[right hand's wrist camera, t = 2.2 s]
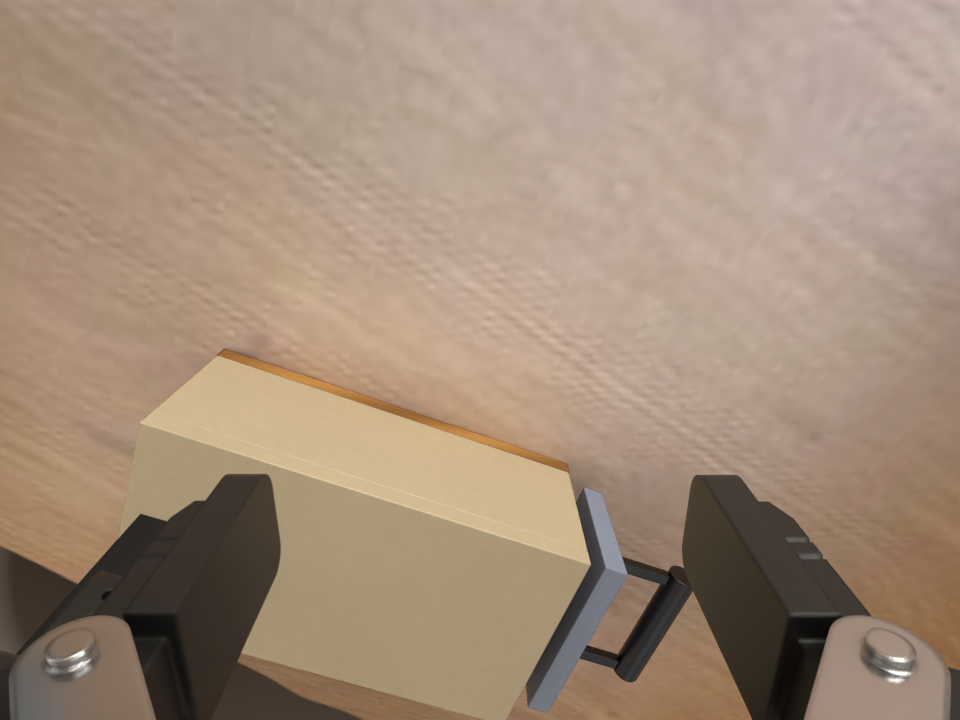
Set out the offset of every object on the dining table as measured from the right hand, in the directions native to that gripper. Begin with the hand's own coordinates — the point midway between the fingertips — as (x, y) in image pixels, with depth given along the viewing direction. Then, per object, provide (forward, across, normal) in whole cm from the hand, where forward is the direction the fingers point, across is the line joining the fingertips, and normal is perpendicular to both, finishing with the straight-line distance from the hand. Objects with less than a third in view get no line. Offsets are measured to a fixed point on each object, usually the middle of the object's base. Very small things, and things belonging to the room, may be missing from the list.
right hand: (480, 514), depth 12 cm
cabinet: (+22, +6, +14) cm, 27 cm away
